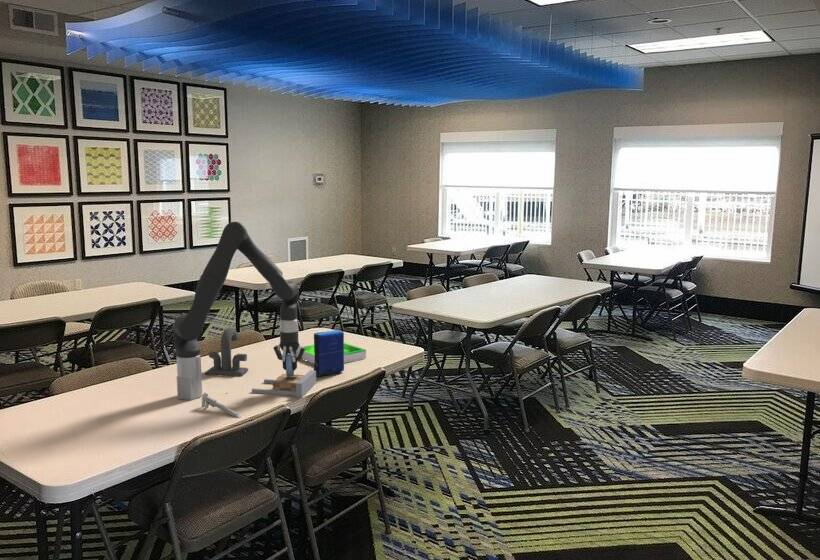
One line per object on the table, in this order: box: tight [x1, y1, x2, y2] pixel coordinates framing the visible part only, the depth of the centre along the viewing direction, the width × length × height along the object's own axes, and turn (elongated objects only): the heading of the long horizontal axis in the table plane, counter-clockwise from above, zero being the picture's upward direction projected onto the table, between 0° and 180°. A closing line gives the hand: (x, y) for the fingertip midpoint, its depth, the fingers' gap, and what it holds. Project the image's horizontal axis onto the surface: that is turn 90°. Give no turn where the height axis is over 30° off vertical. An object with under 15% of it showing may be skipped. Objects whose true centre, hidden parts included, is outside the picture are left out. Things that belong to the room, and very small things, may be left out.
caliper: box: [201, 392, 241, 418], centre depth 244 cm, size 20×1×6 cm, turn 58°
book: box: [313, 329, 345, 377], centre depth 291 cm, size 14×5×20 cm, turn 126°
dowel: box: [285, 353, 295, 376], centre depth 270 cm, size 3×3×9 cm
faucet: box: [204, 327, 249, 377], centre depth 296 cm, size 18×16×20 cm
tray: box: [296, 342, 367, 364], centre depth 319 cm, size 25×25×5 cm
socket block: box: [272, 373, 305, 391], centre depth 271 cm, size 11×11×4 cm
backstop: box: [251, 369, 317, 399], centre depth 271 cm, size 18×22×6 cm
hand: (290, 369), depth 270 cm, fingers closed on dowel, 3 cm apart
